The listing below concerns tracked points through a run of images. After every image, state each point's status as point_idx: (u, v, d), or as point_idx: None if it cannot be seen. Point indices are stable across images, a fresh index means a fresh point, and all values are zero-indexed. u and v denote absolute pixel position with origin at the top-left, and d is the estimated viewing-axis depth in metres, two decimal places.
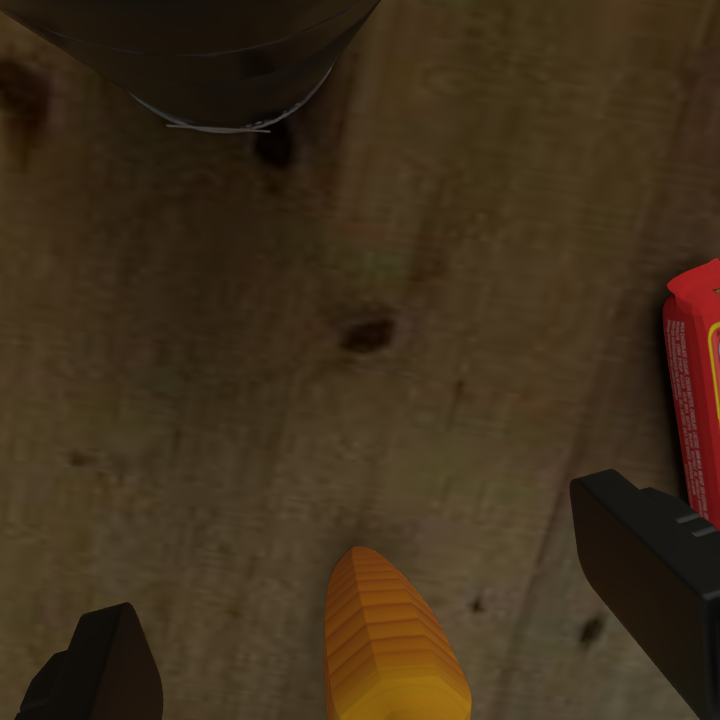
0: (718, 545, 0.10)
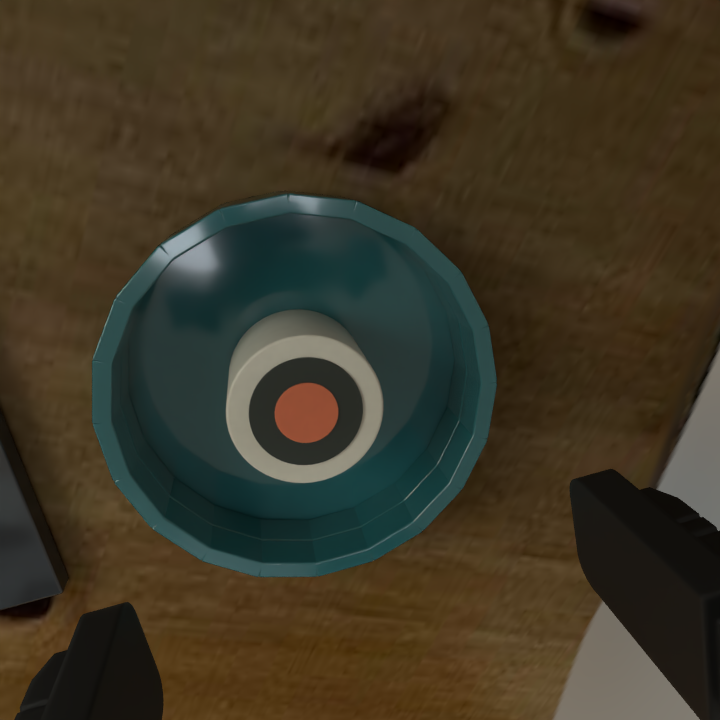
0: (718, 545, 0.10)
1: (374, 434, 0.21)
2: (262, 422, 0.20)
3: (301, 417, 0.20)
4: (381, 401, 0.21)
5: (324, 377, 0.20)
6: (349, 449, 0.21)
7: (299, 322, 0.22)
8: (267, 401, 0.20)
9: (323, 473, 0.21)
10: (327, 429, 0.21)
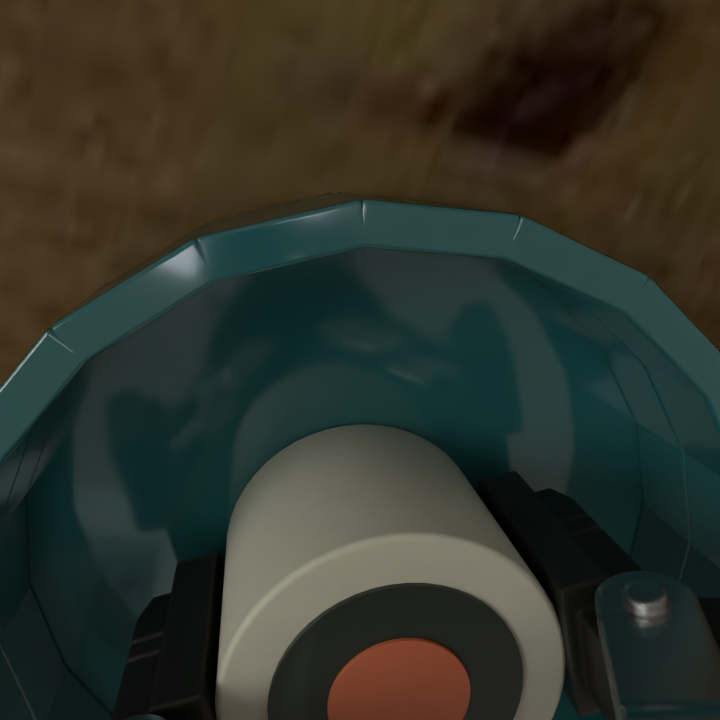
0: (596, 542, 0.10)
1: None
2: None
3: (387, 712, 0.09)
4: (563, 662, 0.09)
5: (442, 621, 0.09)
6: None
7: (374, 475, 0.10)
8: (309, 679, 0.09)
9: None
10: None
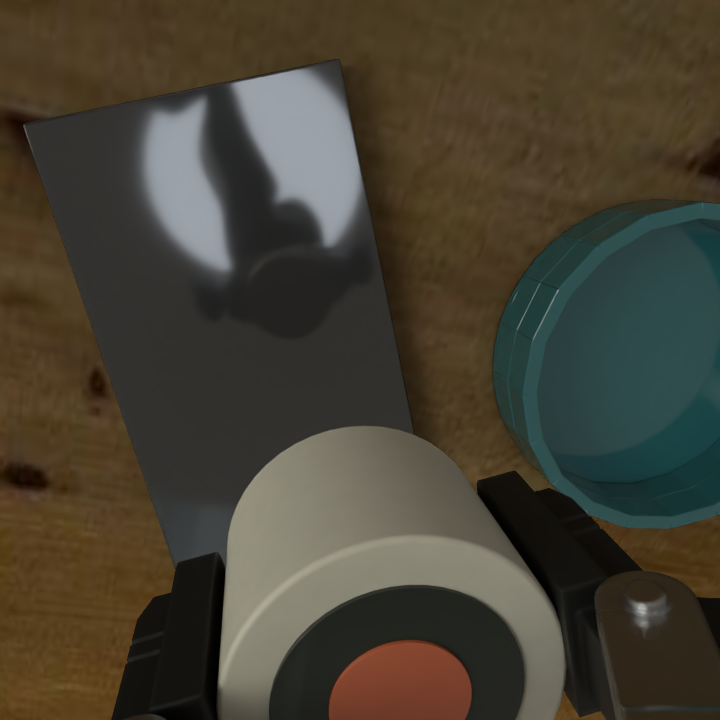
0: (596, 542, 0.10)
1: None
2: None
3: (389, 713, 0.09)
4: (564, 664, 0.09)
5: (443, 624, 0.09)
6: None
7: (375, 477, 0.10)
8: (311, 680, 0.09)
9: None
10: None
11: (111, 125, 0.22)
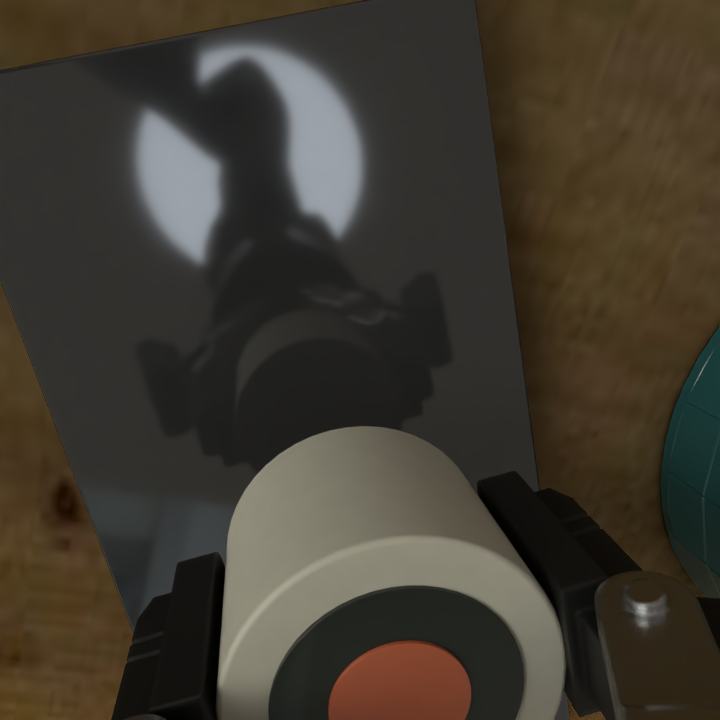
0: (596, 542, 0.10)
1: None
2: None
3: (388, 714, 0.09)
4: (564, 664, 0.09)
5: (443, 625, 0.09)
6: None
7: (374, 477, 0.10)
8: (310, 682, 0.09)
9: None
10: None
11: (83, 88, 0.13)
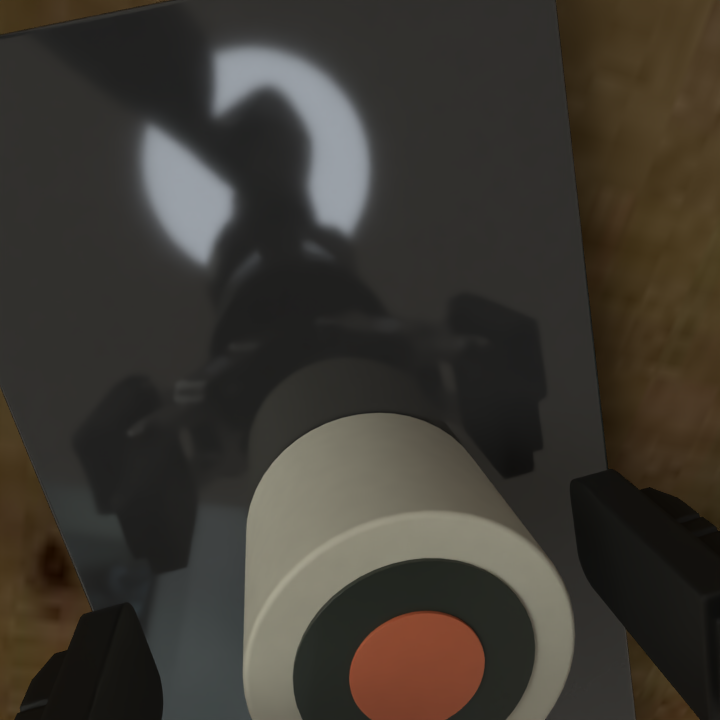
0: (718, 545, 0.10)
1: (553, 698, 0.10)
2: (321, 693, 0.09)
3: (406, 680, 0.09)
4: (572, 634, 0.10)
5: (457, 596, 0.09)
6: None
7: (390, 459, 0.11)
8: (332, 650, 0.09)
9: None
10: (460, 699, 0.10)
11: (65, 65, 0.10)
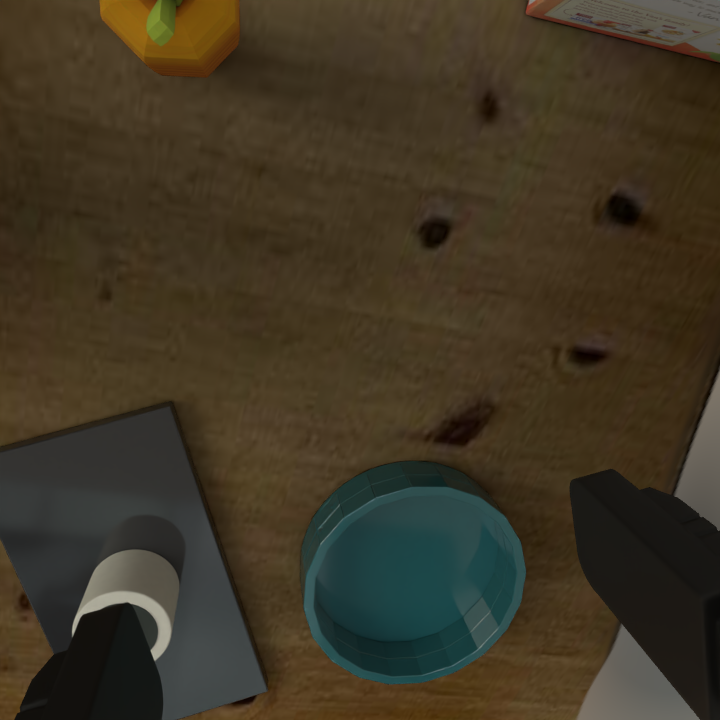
0: (718, 545, 0.10)
1: (167, 642, 0.35)
2: None
3: None
4: (169, 623, 0.34)
5: None
6: (152, 651, 0.35)
7: (121, 571, 0.35)
8: None
9: None
10: None
11: (22, 457, 0.35)
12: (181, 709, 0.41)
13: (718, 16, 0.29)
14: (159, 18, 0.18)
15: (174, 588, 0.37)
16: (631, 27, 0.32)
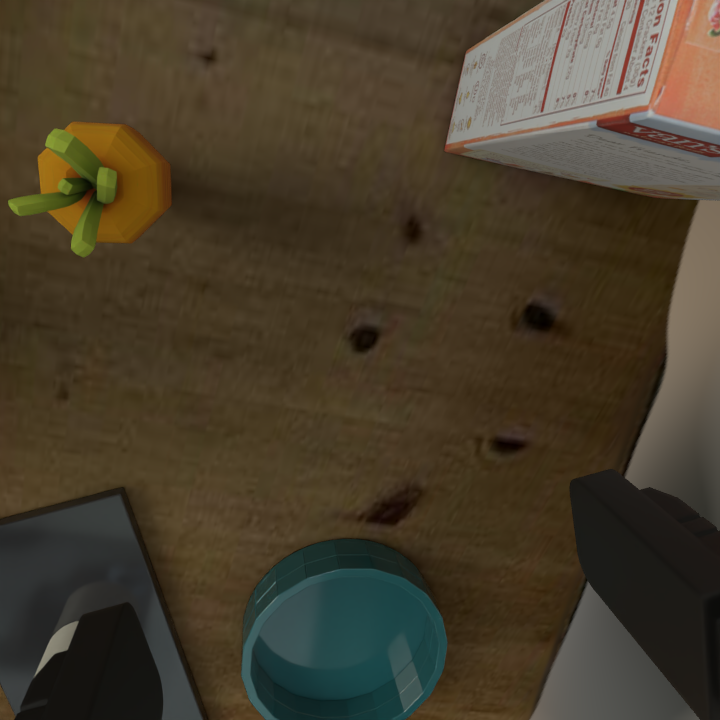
0: (718, 545, 0.10)
1: None
2: None
3: None
4: None
5: None
6: None
7: None
8: None
9: None
10: None
11: None
12: None
13: (601, 176, 0.32)
14: (81, 238, 0.22)
15: None
16: (535, 169, 0.36)
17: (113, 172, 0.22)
